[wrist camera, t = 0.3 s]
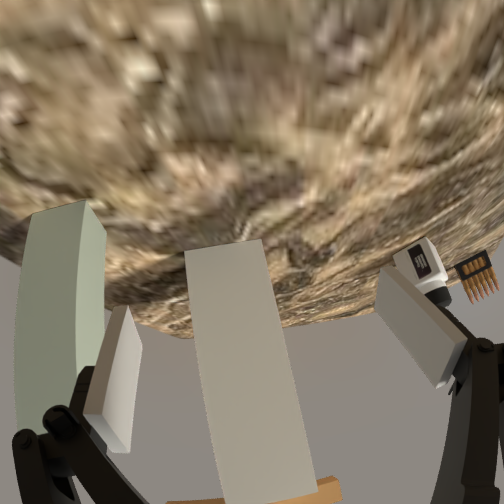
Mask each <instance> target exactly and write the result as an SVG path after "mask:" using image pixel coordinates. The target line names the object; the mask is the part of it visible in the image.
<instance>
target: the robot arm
mask: <svg viewBox="0 0 504 504" xmlns="http://www.w3.org/2000/svg"><path fill="white" fill-rule="evenodd" d="M374 309H375V311H376V312H377V313H378V314H379V316H380V317H381V318H382V319H383V320H384V322H385V323H386V324H387V326H388V327H389V328H390V329H391V330H392V332H393V333H394V334H395V336H396V337H397V338H398V340H399V341H400V342H401V343H402V345H403V346H404V347H405V349H406V350H407V351H408V352H409V354H410V355H411V356H412V358H413V359H414V360H415V362H416V363H417V364H418V366H419V367H420V368H421V370H422V371H423V372H424V374H425V375H426V376H427V378H428V379H429V380H430V382H431V383H432V385H433V386H434V387H435V388H438V387H440V386H443V385H445V384H447V383H448V381H449V379H450V377H451V375H453V376H454V377H455V378H456V379H455V381H454V383H453V385H452V387H451V389H450V391H449V393H448V395H450V394H451V392H452V391H453V393H452V402H451V411H450V417H449V424H448V431H447V436H446V442H445V447H444V452H443V457H442V461H441V466H440V470H439V474H438V478H437V482H436V486H435V490H434V493H433V497H432V500H431V503H430V504H499V500H500V490H499V488H497V487H495V485H494V481H495V473H496V465H497V454H498V439H500V445H501V451H502V459H503V465H504V343H501V344H493V342H491V341H490V340H488V339H486V338H476V337H474V335H473V334H472V333H471V332H470V331H468V329H467V328H466V327H465V326H464V325H463V324H462V323H461V322H459V321H458V319H456V317H454V315H453V314H451V312H450V311H448V310H447V309H445V308H444V307H442V306H440V305H437V306H435V305H434V304H433V303H432V302H431V301H430V300H429V299H428V298H427V297H426V296H425V295H424V294H423V293H421V292H420V291H419V290H418V289H417V288H416V287H415V286H414V285H413V284H412V283H411V282H410V281H409V280H408V279H407V278H405V277H404V276H403V275H402V274H401V273H400V272H399V271H398V270H397V269H396V268H395V267H393V266H392V265H390V266H385V267H380V274H379V281H378V288H377V295H376V301H375V307H374ZM142 348H143V346H142V343H141V341H140V338H139V335H138V332H137V330H136V327H135V324H134V321H133V318H132V315H131V312H130V309H129V306H128V305H123V306H114V308H113V311H112V314H111V317H110V320H109V323H108V326H107V329H106V332H105V335H104V339H103V342H102V345H101V348H100V351H99V355H98V358H97V362H96V365H95V366H85V367H84V368H83V369H82V370H81V372H80V373H79V374H78V377H77V381H76V385H75V387H74V390H73V391H74V393H73V394H72V397H71V401H70V404H69V408H68V407H67V406H65V405H55V406H53V407H51V408H49V409H48V410H47V411H46V412H45V414H44V415H43V419H42V423H43V427H44V428H45V429H46V430H47V432H48V433H44V434H40V435H37V434H36V433H35V432H34V431H33V430H31V429H28V428H26V429H22V430H20V431H18V432H17V433H16V434H15V435H14V437H13V440H12V449H13V457H14V463H15V469H16V475H17V480H18V486H19V490H20V495H21V499H22V503H23V504H81V502H80V499H79V496H78V494H77V491H76V488H75V485H74V482H73V479H72V476H75V475H76V476H77V478H78V479H79V481H80V482H81V484H82V485H83V487H84V488H85V490H86V491H87V492H88V494H89V495H90V497H91V498H92V499H93V501H94V502H95V504H149V503H148V502H147V501H146V500H145V499H144V498H143V497H142V496H141V494H140V493H139V492H138V491H137V490H136V489H135V488H134V487H133V486H132V485H131V483H130V482H129V481H128V480H127V479H126V478H125V477H124V475H123V474H122V473H121V472H120V471H119V469H118V468H117V467H116V466H115V465H114V463H113V462H112V461H111V459H110V458H109V457H108V456H107V455H106V451H107V446H108V448H110V450H111V451H112V452H113V453H130V446H131V435H132V424H133V415H134V405H135V397H136V390H137V382H138V375H139V368H140V361H141V354H142Z"/></svg>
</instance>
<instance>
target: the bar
mask: <svg viewBox="0 0 504 504" xmlns="http://www.w3.org/2000/svg"><path fill="white" fill-rule="evenodd" d="M316 482H317V487H318V492H316V493H312V494H308V495H304V496H300V497H296V498H292V499H287V500H282V501H278V502H272V503H267V504H331V503H335V502H338V501H341V500H343V499H342V494H341V489H340V484H339V480H338V479H337V478H335V477H333V476H329V477H326V478H322V479H319V480H316ZM166 504H226V503H225V499H224V498H217V499H207V500H192V501H168V502H167V503H166Z"/></svg>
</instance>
